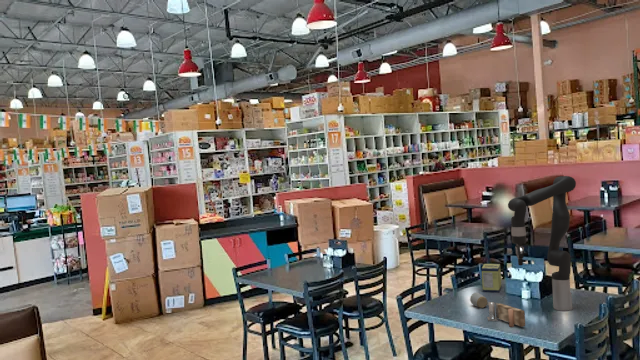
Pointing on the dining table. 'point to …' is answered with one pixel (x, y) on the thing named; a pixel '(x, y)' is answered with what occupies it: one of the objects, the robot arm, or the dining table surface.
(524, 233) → the robot arm
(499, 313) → the gate
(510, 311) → the latch post
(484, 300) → the ceramic mug
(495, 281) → the protein box
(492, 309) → the hinge post
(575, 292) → the dining table surface
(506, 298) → the dining table surface
